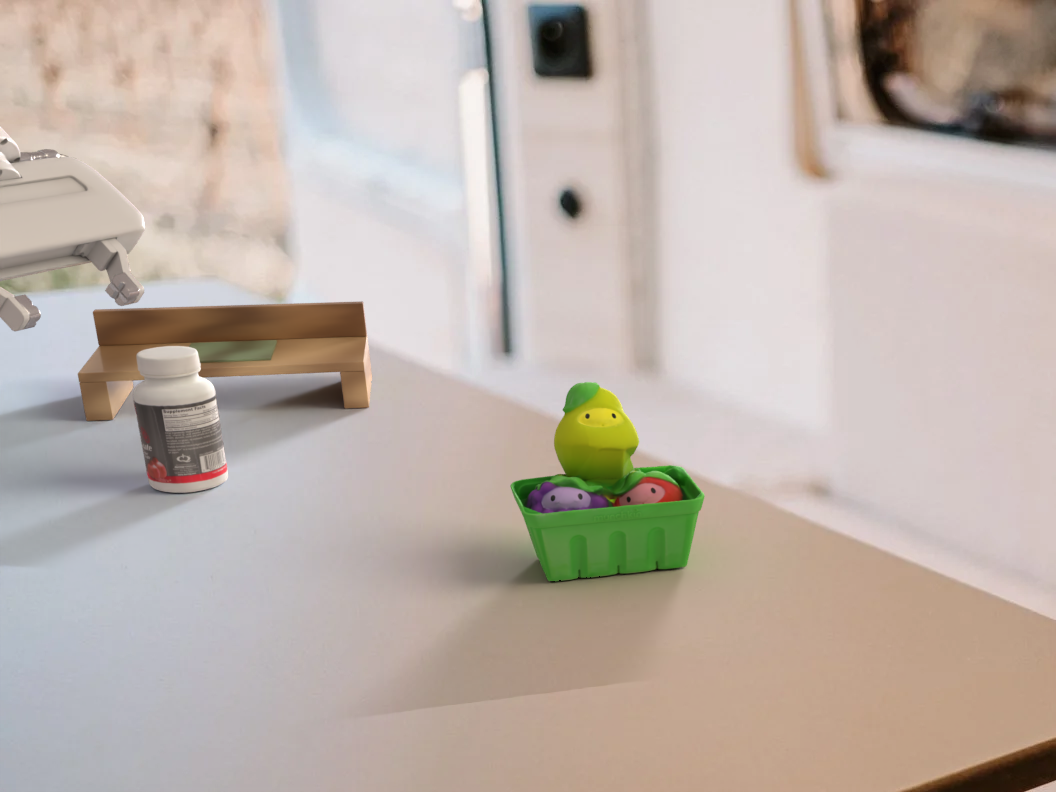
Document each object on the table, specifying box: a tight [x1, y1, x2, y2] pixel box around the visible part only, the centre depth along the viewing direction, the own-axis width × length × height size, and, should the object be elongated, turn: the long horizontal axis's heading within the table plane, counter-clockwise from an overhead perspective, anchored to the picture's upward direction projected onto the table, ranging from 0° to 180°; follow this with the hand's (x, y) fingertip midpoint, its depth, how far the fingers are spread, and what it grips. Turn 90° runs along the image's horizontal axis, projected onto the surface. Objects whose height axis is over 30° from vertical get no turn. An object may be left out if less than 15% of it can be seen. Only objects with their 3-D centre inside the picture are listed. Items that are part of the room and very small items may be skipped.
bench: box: [77, 300, 373, 422], centre depth 139 cm, size 22×11×7 cm, turn 107°
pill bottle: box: [132, 346, 229, 494], centre depth 116 cm, size 5×5×10 cm
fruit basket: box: [510, 381, 706, 582], centre depth 104 cm, size 11×9×11 cm
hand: (83, 311), depth 116 cm, fingers open, 8 cm apart
